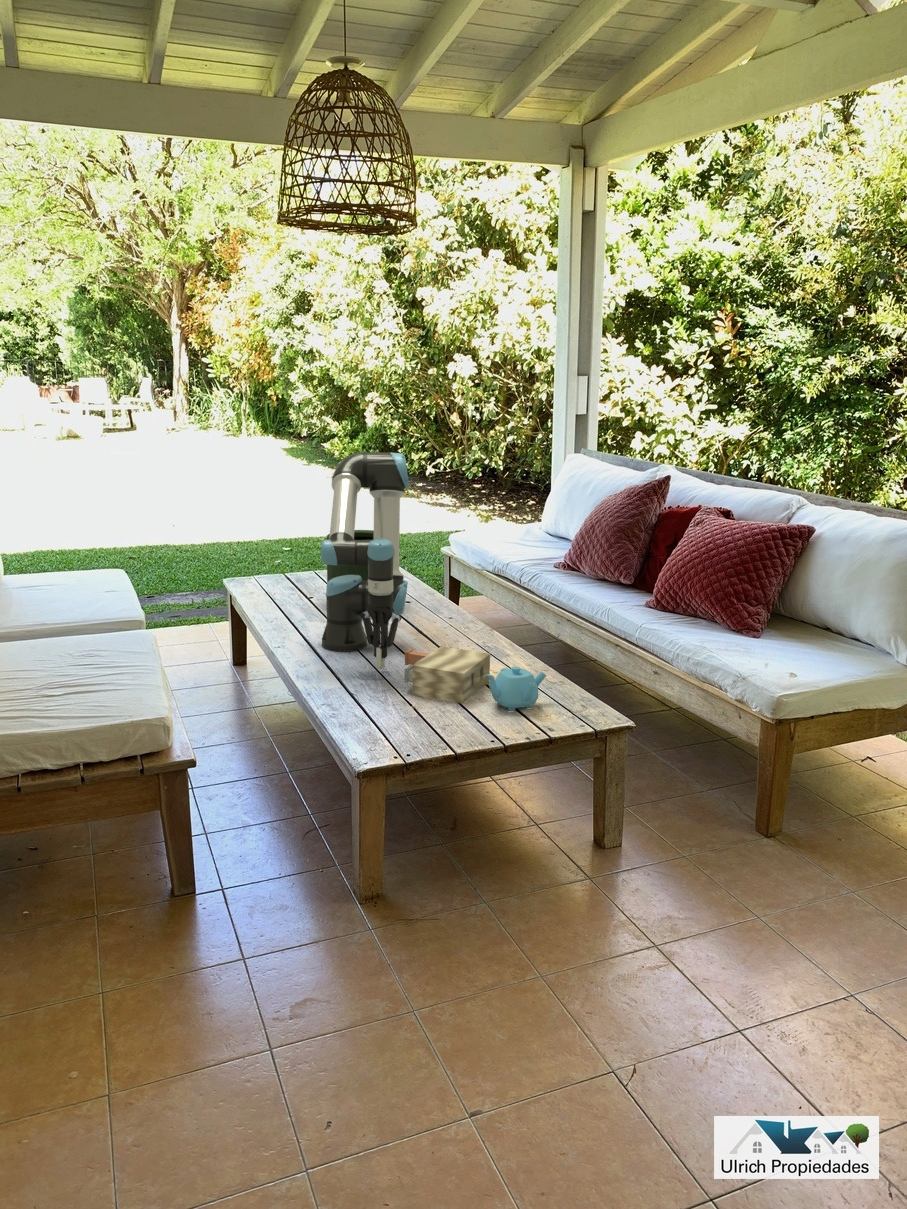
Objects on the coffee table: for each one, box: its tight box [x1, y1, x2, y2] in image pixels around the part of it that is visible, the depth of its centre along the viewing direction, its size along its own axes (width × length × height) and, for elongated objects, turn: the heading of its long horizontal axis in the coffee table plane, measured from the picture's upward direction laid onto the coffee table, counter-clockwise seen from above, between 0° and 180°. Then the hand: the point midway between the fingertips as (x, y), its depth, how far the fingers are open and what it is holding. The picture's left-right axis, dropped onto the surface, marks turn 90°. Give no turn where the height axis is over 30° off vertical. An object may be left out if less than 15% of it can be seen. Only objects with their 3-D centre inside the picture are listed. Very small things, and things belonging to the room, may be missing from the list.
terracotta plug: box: [404, 648, 431, 666], centre depth 291 cm, size 17×4×4 cm, turn 66°
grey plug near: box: [404, 664, 413, 684], centre depth 276 cm, size 17×4×4 cm, turn 66°
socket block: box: [411, 646, 491, 705], centre depth 281 cm, size 16×20×9 cm
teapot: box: [485, 666, 547, 712], centre depth 268 cm, size 15×14×11 cm
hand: (380, 667), depth 291 cm, fingers closed
